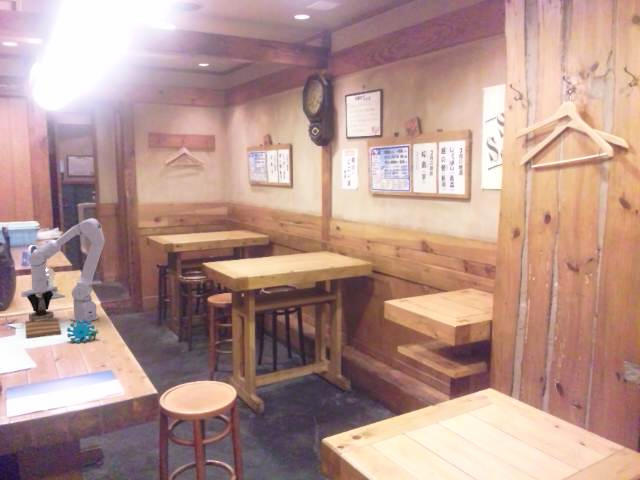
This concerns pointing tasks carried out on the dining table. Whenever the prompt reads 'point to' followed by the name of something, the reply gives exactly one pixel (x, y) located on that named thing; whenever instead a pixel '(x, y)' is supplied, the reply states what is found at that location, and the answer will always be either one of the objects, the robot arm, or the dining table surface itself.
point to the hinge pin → (41, 306)
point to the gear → (82, 331)
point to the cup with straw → (50, 276)
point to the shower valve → (54, 295)
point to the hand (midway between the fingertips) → (40, 310)
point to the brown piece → (42, 325)
